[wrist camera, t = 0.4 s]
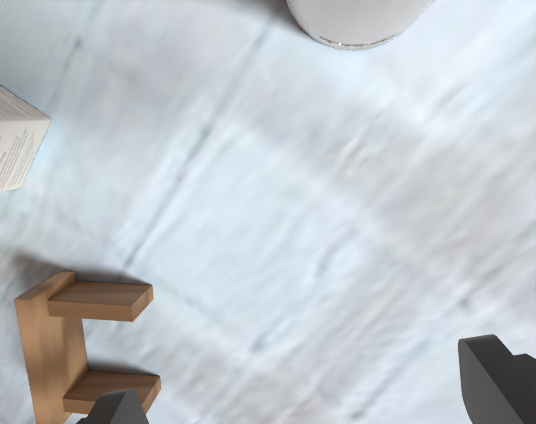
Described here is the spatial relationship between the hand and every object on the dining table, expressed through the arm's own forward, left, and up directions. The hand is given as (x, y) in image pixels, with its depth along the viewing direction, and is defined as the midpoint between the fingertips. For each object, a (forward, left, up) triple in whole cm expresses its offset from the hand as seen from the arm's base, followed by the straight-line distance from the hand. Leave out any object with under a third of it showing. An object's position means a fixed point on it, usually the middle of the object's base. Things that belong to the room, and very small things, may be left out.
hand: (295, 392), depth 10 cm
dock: (+11, -16, -19) cm, 27 cm away
